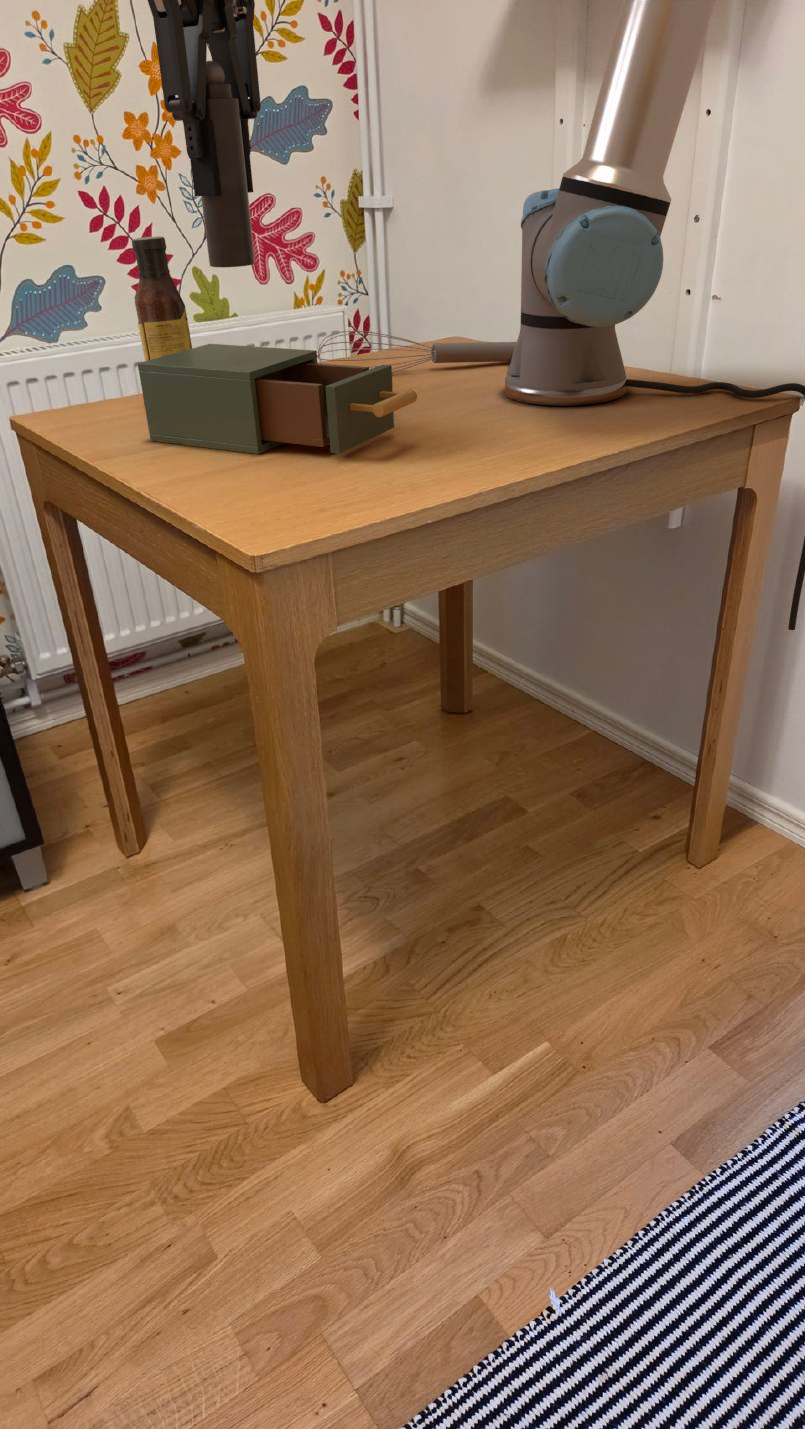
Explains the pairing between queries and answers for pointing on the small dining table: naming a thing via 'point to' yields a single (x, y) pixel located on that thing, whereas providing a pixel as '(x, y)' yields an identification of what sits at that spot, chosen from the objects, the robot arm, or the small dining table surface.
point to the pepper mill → (227, 179)
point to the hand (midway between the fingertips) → (224, 193)
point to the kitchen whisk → (442, 351)
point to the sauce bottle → (158, 302)
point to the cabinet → (212, 395)
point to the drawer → (328, 404)
